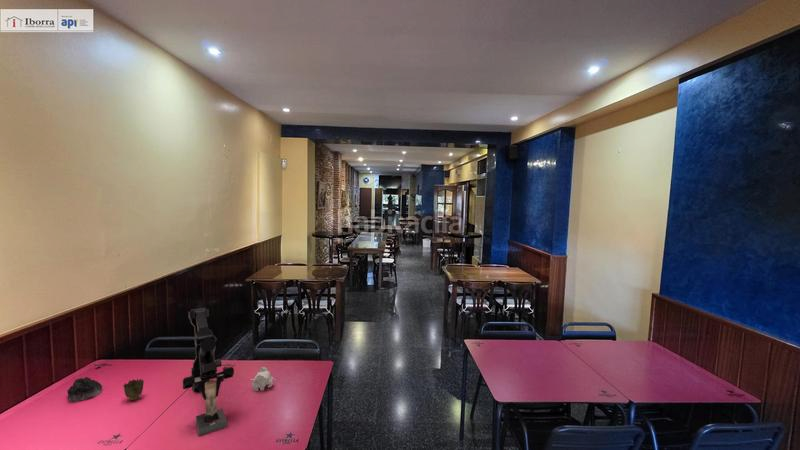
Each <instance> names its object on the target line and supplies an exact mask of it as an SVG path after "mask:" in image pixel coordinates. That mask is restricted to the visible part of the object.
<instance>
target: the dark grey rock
mask: <svg viewBox="0 0 800 450" xmlns="http://www.w3.org/2000/svg"><path fill="white" fill-rule="evenodd" d="M102 391H103V386H102V383H100V382H99V381H97V380H94V379H91V377H87V376H85V377H80V378H76V379H75V380H74V382H73V383H72V385H71V386H70V387H69V388H68V389H67V400H68V401H69V402H70V403H71V402H79V401H84V400H88V399H90V398H94V397H97V396H98V395H100V393H101V392H102Z"/></svg>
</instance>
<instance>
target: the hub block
mask: <svg viewBox="0 0 800 450" xmlns="http://www.w3.org/2000/svg"><path fill="white" fill-rule="evenodd" d="M210 422H211V423H210ZM195 424H196V428H197V429H196V430H197V434H198V437H200V436H204V435H207V434H210V433H213V432H216V431H219V430H222V429H225V428H227V427H228V421H227V417H226V414H225V412H224V409H223V407H221V408H218V409H217V411H216V412H215V413H214V414H213V416H211V415H206V412H205V413H201V414H198V415H195Z"/></svg>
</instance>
